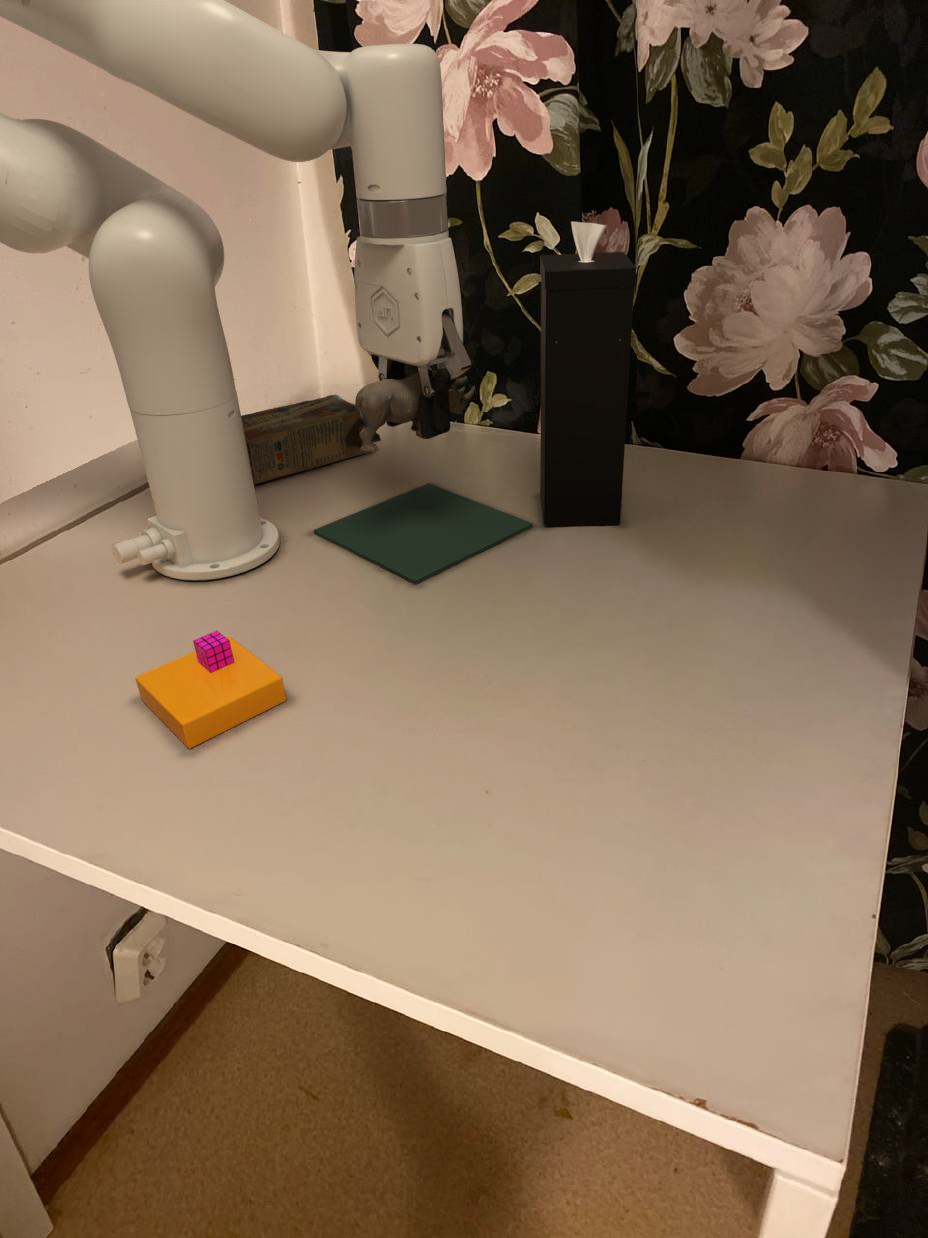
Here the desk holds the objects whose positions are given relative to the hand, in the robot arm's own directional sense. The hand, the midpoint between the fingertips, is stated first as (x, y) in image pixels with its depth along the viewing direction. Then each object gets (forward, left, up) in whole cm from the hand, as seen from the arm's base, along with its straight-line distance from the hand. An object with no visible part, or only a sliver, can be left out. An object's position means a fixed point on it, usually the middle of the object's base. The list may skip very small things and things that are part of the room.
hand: (418, 426), depth 82 cm
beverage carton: (+1, +27, -11) cm, 29 cm away
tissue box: (+14, -8, -11) cm, 20 cm away
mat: (0, +1, -11) cm, 11 cm away
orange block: (-30, -9, -11) cm, 33 cm away
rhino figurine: (0, 0, -1) cm, 1 cm away
